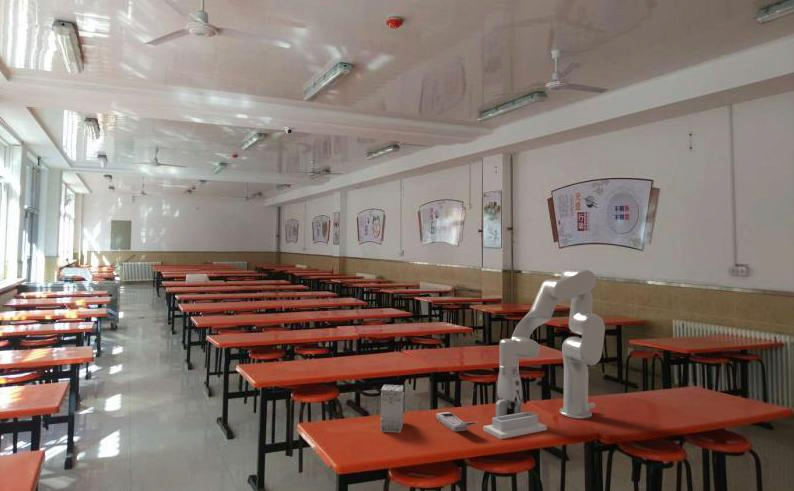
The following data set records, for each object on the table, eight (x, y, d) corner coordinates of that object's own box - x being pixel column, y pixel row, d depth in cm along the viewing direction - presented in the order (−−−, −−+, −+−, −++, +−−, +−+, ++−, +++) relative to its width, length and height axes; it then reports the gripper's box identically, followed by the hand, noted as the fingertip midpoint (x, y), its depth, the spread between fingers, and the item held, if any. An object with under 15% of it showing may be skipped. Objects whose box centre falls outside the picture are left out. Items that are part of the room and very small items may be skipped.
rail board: (528, 421, 198) (528, 409, 198) (546, 429, 189) (546, 416, 189) (483, 430, 187) (483, 416, 187) (500, 439, 178) (501, 424, 179)
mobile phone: (464, 423, 178) (432, 403, 201) (463, 440, 178) (432, 417, 201) (478, 421, 180) (446, 401, 203) (478, 438, 180) (445, 416, 203)
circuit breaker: (404, 419, 197) (404, 381, 198) (400, 432, 183) (401, 391, 184) (385, 418, 198) (385, 380, 198) (380, 431, 184) (381, 390, 184)
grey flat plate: (495, 420, 199) (495, 400, 199) (518, 415, 204) (518, 396, 204) (498, 421, 197) (498, 401, 197) (521, 417, 203) (521, 397, 203)
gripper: (530, 373, 196) (529, 421, 196) (503, 365, 210) (503, 410, 209) (515, 375, 192) (515, 424, 192) (488, 367, 206) (488, 412, 206)
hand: (508, 416), depth 201 cm, fingers closed on grey flat plate, 1 cm apart
